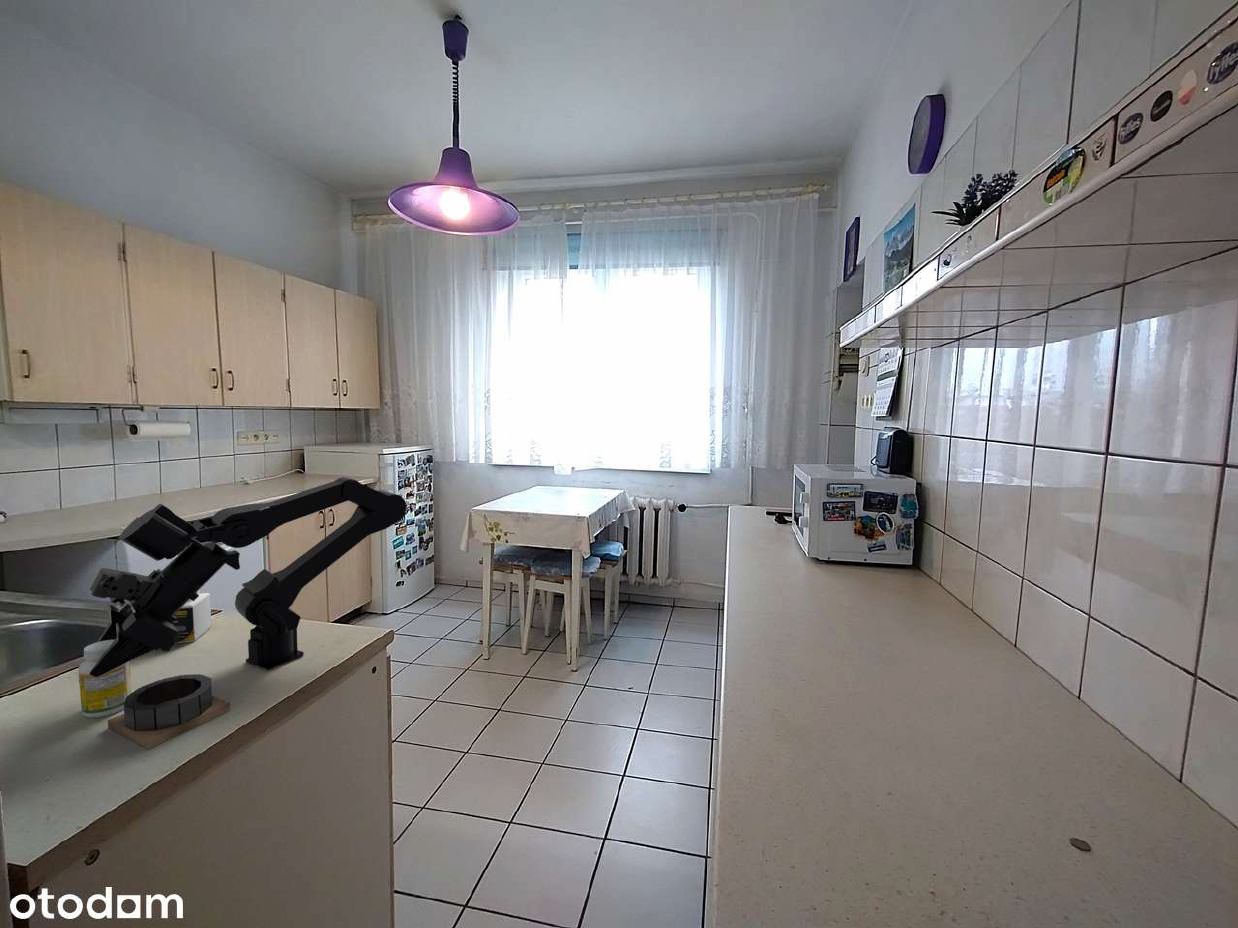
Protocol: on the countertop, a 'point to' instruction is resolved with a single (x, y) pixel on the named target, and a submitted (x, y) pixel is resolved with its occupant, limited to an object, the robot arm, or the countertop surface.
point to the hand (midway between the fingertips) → (90, 668)
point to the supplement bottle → (102, 684)
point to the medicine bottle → (193, 618)
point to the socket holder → (167, 709)
